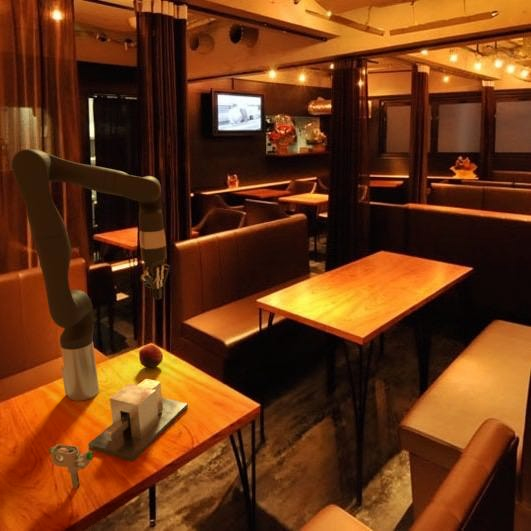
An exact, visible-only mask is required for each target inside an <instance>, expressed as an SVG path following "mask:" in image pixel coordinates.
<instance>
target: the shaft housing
mask: <svg viewBox="0 0 531 531" xmlns="http://www.w3.org/2000/svg"><path fill="white" fill-rule="evenodd" d="M109 403H110V411H111V418H112V419H111V420H112V423H111V425H109V426H108V427H106V429H104V430H103V431H102V432H100V433H99V434H98V435H97V436H95V438H93V439H92V440H91V441H90V442H89V443H88V444H87V445H88V446H87V447H88V449H89V450H91V451H94V452H99V453H102V454H105V455H108V456H112V457H115V458H119V459H121V460H124V461H128V462H132V463H133V462H135V460H136V459H137V458H138V457H139V456H141V455H142V454H143V453H144V452H145V451H146V450H147V449H148V447H150V446H151V445H152V444H153V443H154V442H155V441H156V440H157V439H158V438H159V437H160V436H161V435H162V434H163V433H164V432H165V431H166V430H167V429H168V428H169V427H170V426H172V424H173V423H174V422H175V421H176V420H177V419H178V418H179V417H180V416H182V414H183V413H185V411H187V410H188V408H189V404H188V403H187V402H183V401H178V400H173V399H170V398H166V397H162V405H163V410H162V411H161V412H160V413H159V414H158V408H157V397H156V390H153V389H149V388H145V387H140V386H137V385H135V384H131V383H128V384H127V385H125V386H124V387H122V388H121V389H120V390H119V391H118V392H116V393H114V395H112V396H111V397H109ZM127 413H129V414H130V424H131V425H130V426H128V427H127V428H126V429H125V430H124V431H123V432H121V433H120V434H119V435H118V436H117V437H116V438H115V439H113V440H112V441H110V440H106V439H105V433H104V432H106V431H107V430H108V429H109V428H110V427H112V426H113V425H114V424H115V423H116V422H118V421H119V420H120V419H121V418H122V417H124V416H125V415H126V414H127Z"/></svg>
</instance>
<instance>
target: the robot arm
mask: <svg viewBox="0 0 531 531" xmlns="http://www.w3.org/2000/svg"><path fill="white" fill-rule="evenodd" d="M11 171H12V174H13V177H14V179H15V182H16V185H17V186H18V189H19V191H20V195H21V197H22V200H23V203H24V205H25V209H26V210H25V211H26V216H27V220H28V224H29V228H30V232H31V236H32V240H33V244H34V248H35V251H36V254H37V257H38V262H39V265H40V269H41V274H42V277H43V280H44V286H45V293H46V297H47V304H48V310H49V315H50V317H51V320H52V321H53V322H54V323H55V325H57V326H58V327H59V328H62V329H63V332H62V333H61V334H60V337H59V344H60V349H61V351H60V352H61V355H62V364H63V366H62V367H61V372H62V380H63V381H62V382H63V386H64V394H65V396H68V399H70V400H71V401H75V402H77V401H78V402H79V401H85V400H89V399H92V398H94V397H95V396H97V395H98V393H99V391H100V386H99V380H98V371H97V364H96V355H95V348H94V341H93V340H94V339H93V335H94V332H95V325H94V324H95V322H94V311H93V310H94V309H93V303H92V300H91V298H90V297H89V296H88V294H87V293H86V292H85V291H83V290H81V289H80V290H79V289H73V290H71V287H70V281H69V279H70V278H69V274H70V273H69V272H70V266H71V265H70V264H71V257H72V247H71V241H70V237H69V234H68V230H67V229H68V228H67V226H66V224H65V222H64V220H63V218H62V215H61V214H60V212H59V210H58V209H57V206H56V205H55V203H54V200H53V197H52V193H51V188H50V182H57V183H58V182H59V183H66V184H71V185H74V186H77V187H81V188H84V189H86V190H87V189H88V190H90V191H93V192H97V193H98V192H99V193H103V194H107V195H113V196H120V197H123V198H126V199H130V200H132V201H136V202H138V208H139V212H138V224H139V225H138V226H139V246H140V247H139V248H140V257H141V259H140V260H141V261H142V262H143V263H144V268H143V270H144V271H143V274H140V275H139V279H140V280H141V282H142V283H143V284H144V285H145V287H146V288H148V289H152V290H151V292H152V298H153V300H157V301H159V300H160V299H162V297H163V291H162V287H163V284H166V282H167V278H168V275H169V272H170V269H171V266H170V264H169V265H168V264H166V260H167V258H168V255H167V243H166V242H167V240H166V233H165V227H164V225H165V224H164V216H163V210H162V207H163V206H162V199H163V198H162V197H163V196H162V186H161V183H160V181H159V179H158V178H156V177H154V176H151V175H146V176H143V177H142V176H136V175H132V174H131V175H130V174H128V173H127V172H124V171H121V170H117V169H112V168H107V167H102V166H96V165H90V164H84V163H79V162H74V161H70V160H67V159H63V158H60V157H57V156H55V155H52V154H49V153H47V152H46V151H45V152H44V151H43V150H41V149H37V148H25V149H21V150H19V151H17V152H16V153H15V154H14V155H13V157H12V160H11Z"/></svg>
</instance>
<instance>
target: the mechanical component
mask: <svg viewBox="0 0 531 531" xmlns="http://www.w3.org/2000/svg"><path fill="white" fill-rule="evenodd" d="M48 453H49V455H50V457H51V461H52V463H53V465H54V466H57V467H65V468H67V472H68V474H70V478H71V483H72V484H71V485H72V486H71V487H72V488H73V489H78V487H79V486H80V476H79V471H80V470H85V469H86V468H87V467H88V466H89V464H90V463H91V462H92V460H93V458H94V452H93V451H92V450H91V449H89V450H88V449H87V450H85V452H84V453H83V452H81V450H80V449H79V448H78V446H77V445H67V444H60V443H59V444H58V443H57V444H56V445H55V446H52V447H50V449H49V451H48Z"/></svg>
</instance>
